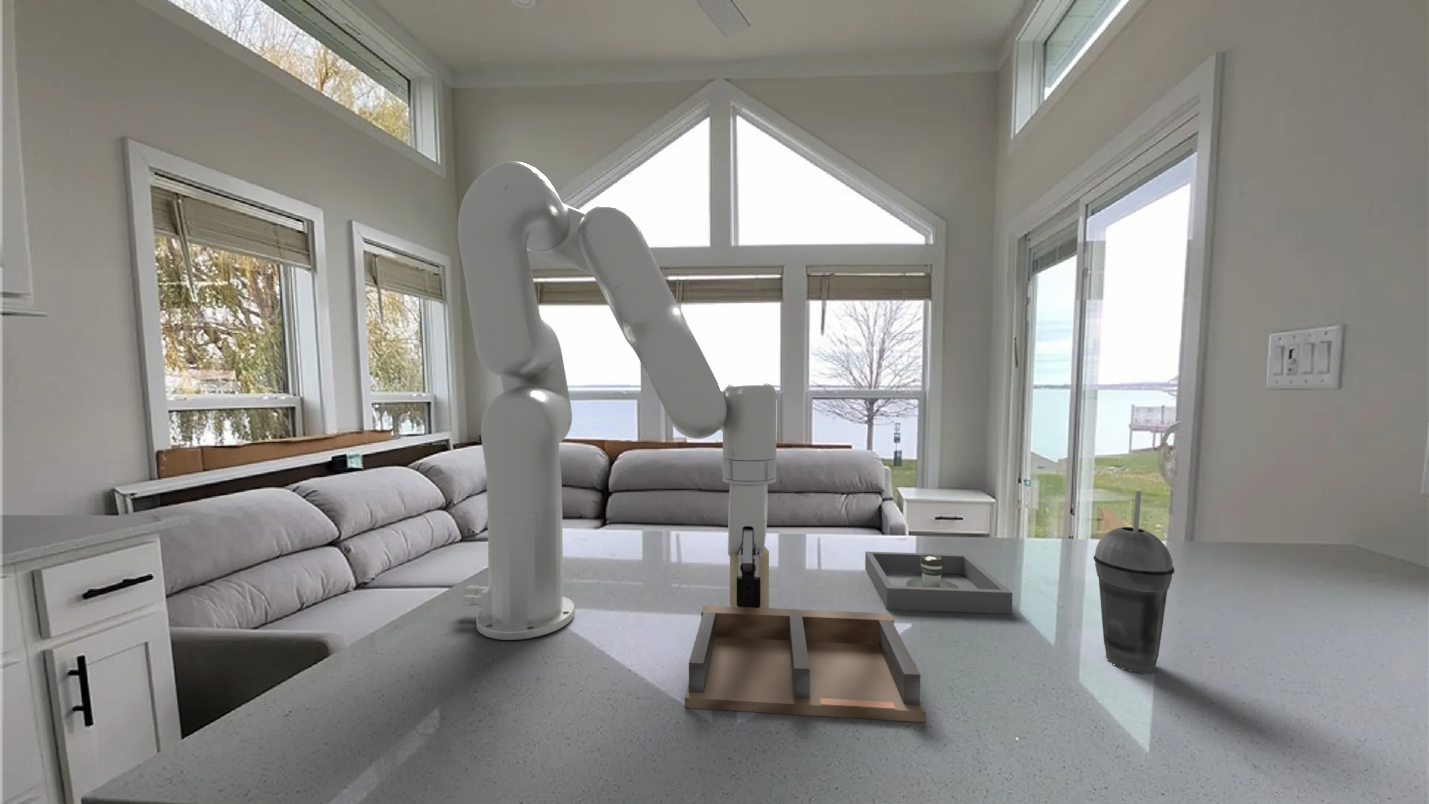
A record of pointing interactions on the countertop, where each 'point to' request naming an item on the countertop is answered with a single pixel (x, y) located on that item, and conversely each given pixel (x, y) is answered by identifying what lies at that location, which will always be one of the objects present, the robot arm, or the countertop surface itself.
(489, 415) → the robot arm
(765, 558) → the candle
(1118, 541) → the beverage cup
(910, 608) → the grey shallow square tray
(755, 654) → the wooden divided tray
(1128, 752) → the countertop surface
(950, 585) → the coffee cup
